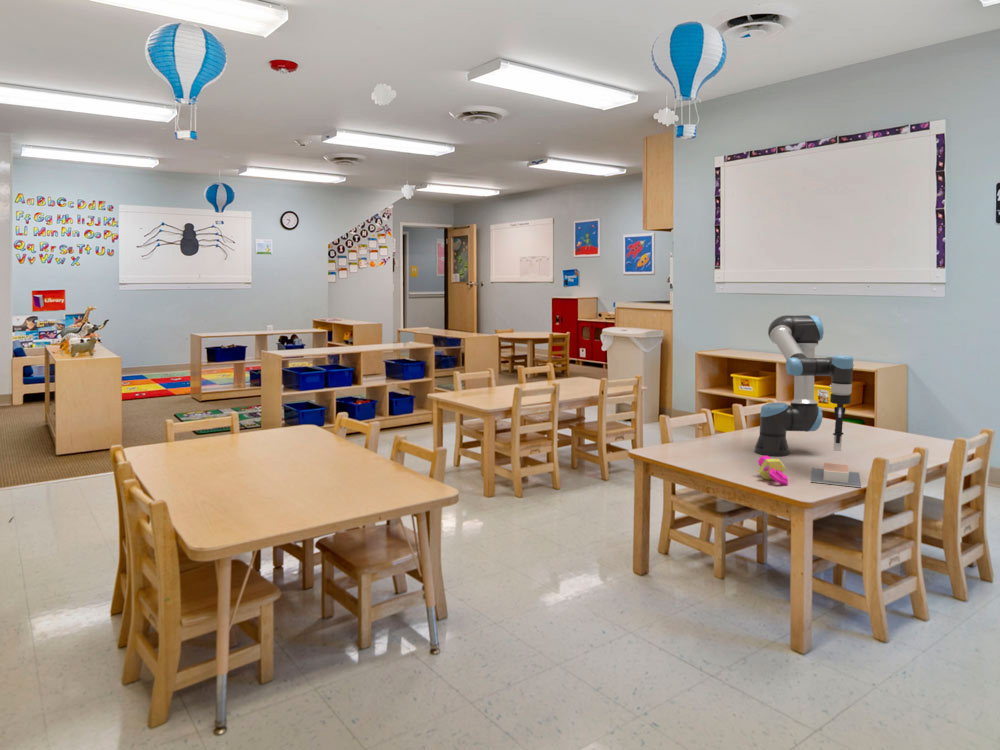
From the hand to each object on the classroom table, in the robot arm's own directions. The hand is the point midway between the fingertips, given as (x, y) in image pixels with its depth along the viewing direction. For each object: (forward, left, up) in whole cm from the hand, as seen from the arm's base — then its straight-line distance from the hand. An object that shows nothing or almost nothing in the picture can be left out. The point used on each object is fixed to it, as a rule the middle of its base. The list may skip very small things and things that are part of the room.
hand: (837, 450), depth 286 cm
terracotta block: (-4, 0, -9) cm, 9 cm away
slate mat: (+2, 0, -11) cm, 12 cm away
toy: (+15, -23, -12) cm, 30 cm away
